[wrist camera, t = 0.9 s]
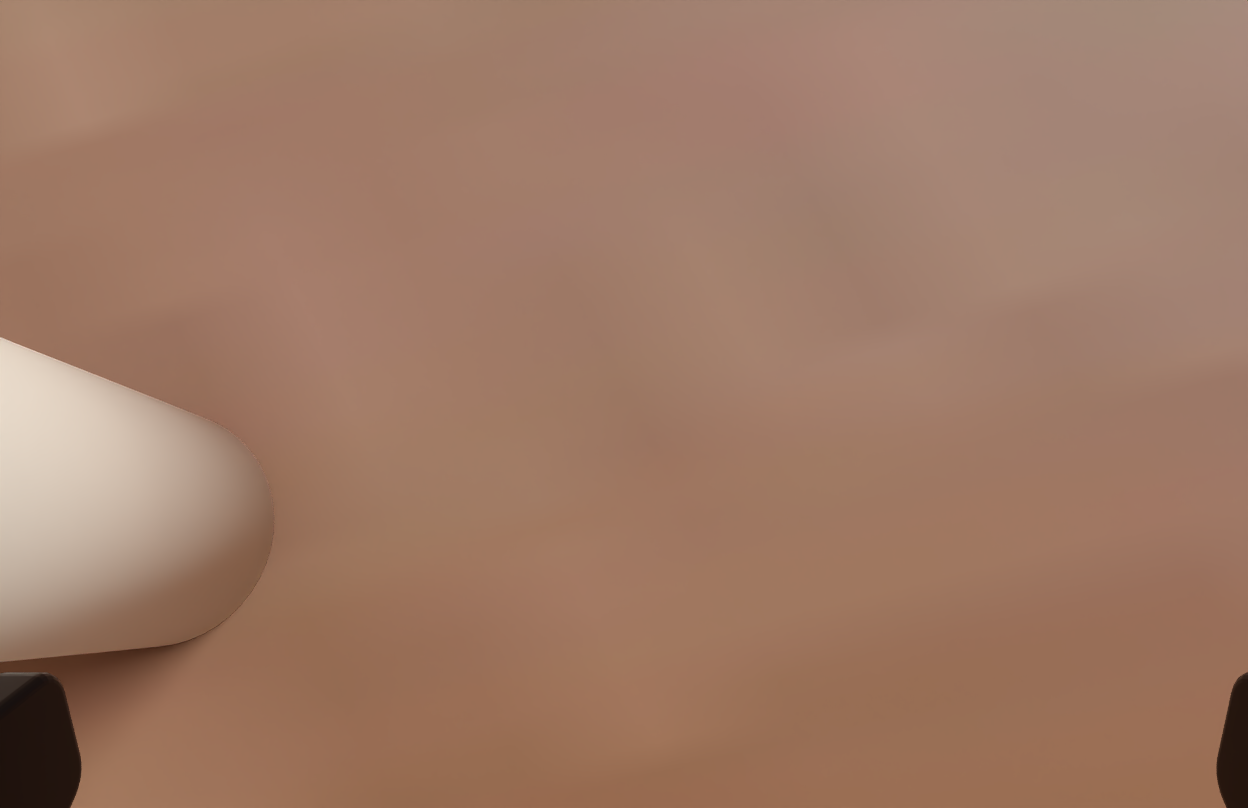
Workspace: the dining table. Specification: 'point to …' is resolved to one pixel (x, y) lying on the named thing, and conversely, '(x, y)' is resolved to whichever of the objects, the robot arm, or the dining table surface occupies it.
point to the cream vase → (118, 515)
